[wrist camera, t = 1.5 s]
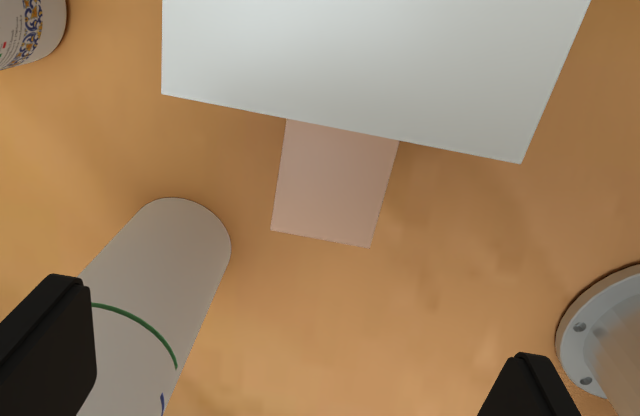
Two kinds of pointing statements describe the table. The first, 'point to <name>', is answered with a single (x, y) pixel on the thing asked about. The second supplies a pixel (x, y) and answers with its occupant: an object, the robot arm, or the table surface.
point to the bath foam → (29, 30)
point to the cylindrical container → (151, 303)
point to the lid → (369, 87)
